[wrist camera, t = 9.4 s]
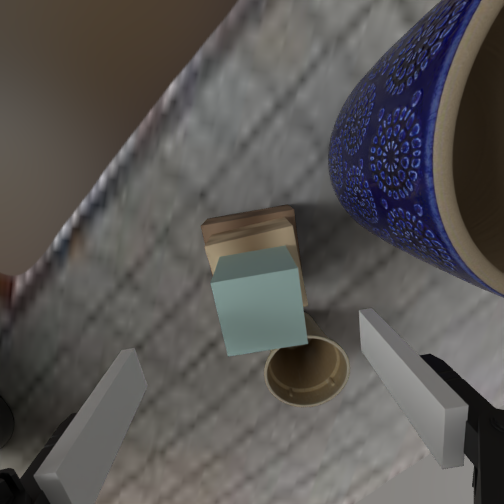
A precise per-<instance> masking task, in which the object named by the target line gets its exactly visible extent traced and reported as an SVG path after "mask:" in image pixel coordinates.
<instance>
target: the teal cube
mask: <svg viewBox="0 0 504 504" xmlns="http://www.w3.org/2000/svg"><path fill="white" fill-rule="evenodd" d="M211 287H212V292H213V296H214V300H215V304H216V308H217V313H218V317H219V321H220V325H221V329H222V333H223V338H224V342H225V346H226V350H227V354H228V357H229V356H235V355H241V354H247V353H254V352H260V351H266V350H272V349H279V348H285V347H291V346H297V345H304V344H308V340H307V332H306V325H305V317H304V310H303V302H302V295H301V287H300V280H299V272H298V267H297V266H296V264H295V262H294V260H293V258H292V256H291V254H290V253H289V251H288V249H287V247H286V245H285V246H279V247H273V248H267V249H262V250H256V251H250V252H244V253H238V254H233V255H227V256H221V257H219V260H218V263H217V266H216V269H215V271H214V274H213V277H212V280H211Z"/></svg>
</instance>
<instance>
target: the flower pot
mask: <svg viewBox="0 0 504 504" xmlns="http://www.w3.org/2000/svg"><path fill="white" fill-rule="evenodd" d="M304 317H305V325H306V332H307V340H308V344H304V345H297V346H291V347H285V348H279V349H272V350H271V352H270V355H269V356H268V358H267V361H266V364H265V368H264V378H265V383H266V385H267V387H268V389H269V391H270V392H271V393H272V394H273V395H274V396H275V397H276V398H277V399H278V400H280V401H281V402H283V403H286V404H288V405H291V406H295V407H313V406H317V405H321V404H323V403H325V402H327V401H330V400H331V399H332V398H334V397H335V396H336V395H338V394H339V393H340V392H341V390H342V389H343V388H344V386H345V385H346V383H347V381H348V378H349V374H350V363H349V359H348V357H347V355H346V353H345V351H344V350H343V349H342V347H341V346H340V345H338V344H337V343H336V342H335V341H333V340H331V339H329V338H328V337H327V336H326V335H325V334H324V333H323V331H322V330H321V329H320V328H319V326H318V325H317V324H316V322H315V321H314V320H313V318H312V317H311V316H310V315H308V314H307V313H305V312H304Z"/></svg>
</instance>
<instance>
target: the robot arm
mask: <svg viewBox="0 0 504 504" xmlns="http://www.w3.org/2000/svg"><path fill="white" fill-rule="evenodd" d="M359 323H360V339H361V351H362V353H363V354H364V356H365V357H366V358H367V360H368V361H369V363H370V364H371V366H372V367H373V369H374V370H375V372H376V373H377V375H378V376H379V377H380V379H381V380H382V382H383V383H384V385H385V386H386V388H387V389H388V391H389V392H390V394H391V395H392V396H393V398H394V399H395V401H396V402H397V404H398V405H399V407H400V408H401V410H402V411H403V413H404V414H405V416H406V417H407V418H408V420H409V421H410V423H411V424H412V426H413V427H414V429H415V430H416V432H417V433H418V435H419V436H420V437H421V439H422V440H423V442H424V443H425V445H426V446H427V448H428V449H429V451H430V452H431V454H432V455H433V456H434V458H435V459H436V461H437V462H438V464H439V465H440V467H441V468H442V469H446V468H453V467H459V466H464V454H465V455H466V456H467V457H468V458H469V459H470V461H471V462H472V463H473V464H474V473H473V483H472V487H474V504H504V410H501V409H496V408H494V407H493V406H492V405H491V404H490V403H489V402H488V401H487V400H486V399H485V398H483V397H482V396H481V395H480V394H479V393H478V392H477V391H476V390H475V389H474V388H473V387H471V386H470V385H469V384H468V383H467V382H466V381H465V380H464V379H462V378H461V376H459V375H458V374H457V373H456V372H455V371H453V369H452V368H451V367H450V366H448V365H447V364H446V363H445V362H444V361H443V360H441V359H439V358H437V357H435V356H434V355H432V354H426V355H420V356H419V355H418V354H417V353H416V352H415V351H414V350H413V349H412V348H411V347H410V346H409V345H408V344H407V343H406V342H405V341H404V340H403V339H402V338H401V337H400V336H399V335H398V334H397V333H396V332H395V331H394V330H393V329H392V328H391V327H390V326H389V325H388V324H387V323H386V322H385V321H384V320H383V319H382V318H381V317H380V316H379V315H378V314H377V313H376V311H375V310H374V309H373V308H369V309H363V310H359ZM147 387H148V385H147V382H146V380H145V377H144V374H143V371H142V368H141V365H140V362H139V359H138V356H137V353H136V351H135V348H131V349H125V350H121V352H120V353H119V354H118V356H117V357H116V359H115V360H114V362H113V363H112V364H111V366H110V367H109V369H108V370H107V372H106V373H105V374H104V376H103V377H102V379H101V380H100V382H99V383H98V384H97V386H96V387H95V389H94V390H93V392H92V393H91V394H90V396H89V397H88V399H87V400H86V402H85V403H84V404H83V406H82V407H81V409H80V410H79V412H78V413H73V414H71V415H70V416H69V417H68V418H67V419H66V420H65V421H63V422H62V423H61V424H60V426H59V427H58V428H57V430H56V431H55V432H54V434H53V435H52V438H50V439H49V440H48V442H47V443H46V444H45V447H44V448H43V449H42V450H41V451H40V453H39V454H38V455H37V457H36V458H35V459H34V461H33V462H32V463H31V465H30V466H29V468H28V469H27V470H26V472H25V473H24V474H23V476H22V477H21V478H20V479H19V477H18V475H17V474H16V472H15V470H14V469H11V468H7V469H3V470H0V504H94V503H95V501H96V499H97V497H98V494H99V492H100V490H101V488H102V486H103V483H104V481H105V479H106V477H107V475H108V472H109V470H110V468H111V466H112V464H113V461H114V459H115V457H116V455H117V453H118V450H119V448H120V446H121V444H122V442H123V439H124V437H125V435H126V433H127V431H128V428H129V426H130V424H131V422H132V420H133V417H134V415H135V413H136V411H137V409H138V406H139V404H140V402H141V400H142V398H143V395H144V393H145V391H146V389H147ZM13 428H14V421H13V416H12V413H11V411H10V409H9V407H8V406H7V404H6V403H5V402H4V400H3V399H2V398H1V397H0V449H1V448H2V446H3V445H4V444H5V443H6V442H7V441H8V440H9V438H10V437H11V435H12V432H13Z"/></svg>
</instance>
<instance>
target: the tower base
mask: <svg viewBox="0 0 504 504" xmlns="http://www.w3.org/2000/svg"><path fill="white" fill-rule="evenodd" d="M283 217H285V218H286V219H287V220H288V221H289V222H290V223H291V225H292V226H293V230H294V236H295V241H296V246H297V251H298V256H299V261H300V266H301V260H300V252H299V244H298V237H297V229H296V221H295V213H294V209H293V208H291V207H290V206H289V205H282V206H277V207H271V208H266V209H260V210H254V211H249V212H243V213H238V214H232V215H226V216H221V217H215V218H210V219H207V220H206V221H205V222H204V223H203V224H202V225H201V229H202V233H203V237H204V242H205V245H206V243H207V241H208V240H209V238H210V236H211V235H212V234H216V233H220V232H224V231H228V230H232V229H237V228H241V227H245V226H249V225H253V224H258V223H262V222H266V221H270V220H274V219H279V218H283ZM301 271H302V268H301ZM211 272H212V270H211ZM212 276H213V274H212ZM302 276H303V275H302Z"/></svg>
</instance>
